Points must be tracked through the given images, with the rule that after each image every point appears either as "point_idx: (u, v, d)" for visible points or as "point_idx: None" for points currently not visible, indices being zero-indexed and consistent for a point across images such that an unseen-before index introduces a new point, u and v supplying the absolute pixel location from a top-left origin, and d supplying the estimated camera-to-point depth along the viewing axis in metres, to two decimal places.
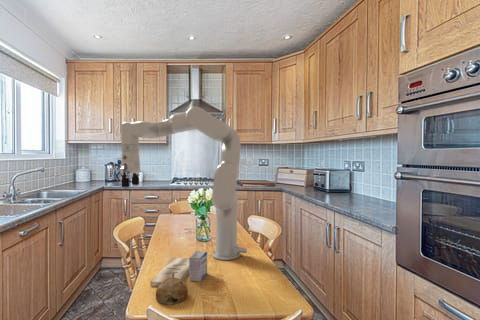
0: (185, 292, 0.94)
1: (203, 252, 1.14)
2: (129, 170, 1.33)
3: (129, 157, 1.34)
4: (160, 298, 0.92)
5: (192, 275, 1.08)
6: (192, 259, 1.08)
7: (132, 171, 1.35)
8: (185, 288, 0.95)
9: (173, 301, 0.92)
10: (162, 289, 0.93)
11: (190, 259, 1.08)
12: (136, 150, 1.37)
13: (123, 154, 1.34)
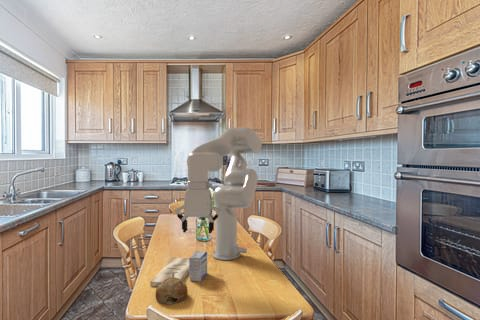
0: (185, 292, 0.95)
1: (203, 252, 1.14)
2: None
3: None
4: (160, 298, 0.92)
5: (192, 275, 1.08)
6: (192, 259, 1.08)
7: None
8: (185, 288, 0.95)
9: (173, 301, 0.92)
10: (162, 289, 0.93)
11: (190, 259, 1.08)
12: None
13: (209, 193, 1.09)
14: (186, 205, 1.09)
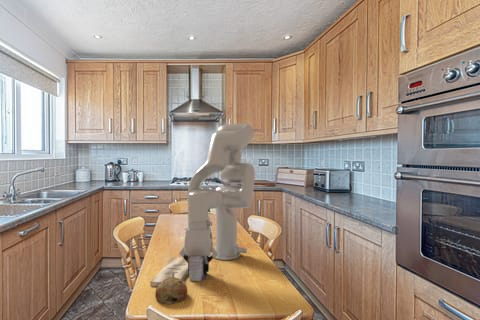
0: (185, 291, 0.95)
1: None
2: None
3: (211, 234, 1.13)
4: (160, 297, 0.92)
5: (192, 275, 1.08)
6: (192, 259, 1.08)
7: None
8: (185, 287, 0.96)
9: (173, 300, 0.92)
10: (162, 289, 0.93)
11: (190, 259, 1.08)
12: None
13: (209, 232, 1.10)
14: (186, 245, 1.10)
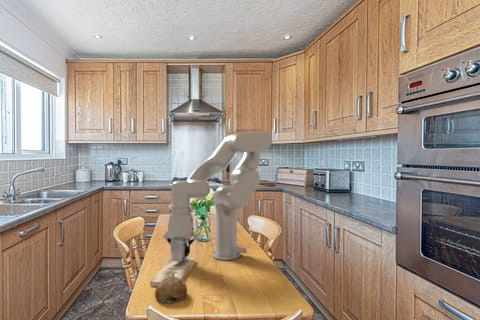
0: (184, 291, 0.95)
1: None
2: None
3: (192, 219, 1.25)
4: (159, 297, 0.93)
5: (174, 256, 1.20)
6: (174, 241, 1.20)
7: None
8: (184, 287, 0.96)
9: (172, 300, 0.93)
10: (161, 288, 0.93)
11: (172, 241, 1.20)
12: None
13: (190, 217, 1.22)
14: (170, 229, 1.21)
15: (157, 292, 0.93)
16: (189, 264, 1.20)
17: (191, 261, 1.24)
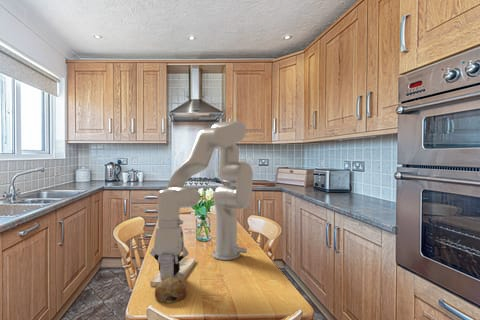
0: (184, 290, 0.95)
1: None
2: None
3: (182, 232, 1.10)
4: (159, 296, 0.93)
5: (163, 273, 1.06)
6: (163, 257, 1.05)
7: None
8: (184, 287, 0.96)
9: (172, 299, 0.93)
10: (161, 288, 0.94)
11: (161, 257, 1.06)
12: None
13: (179, 231, 1.07)
14: (156, 244, 1.07)
15: (157, 292, 0.94)
16: (189, 264, 1.20)
17: (191, 261, 1.24)
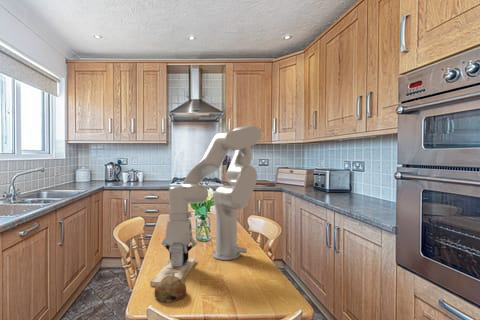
0: (183, 290, 0.96)
1: None
2: None
3: None
4: (159, 296, 0.93)
5: (174, 261, 1.17)
6: (174, 246, 1.17)
7: None
8: (183, 286, 0.97)
9: (172, 299, 0.93)
10: (161, 287, 0.94)
11: (172, 246, 1.17)
12: None
13: (188, 223, 1.19)
14: (168, 235, 1.18)
15: (156, 291, 0.94)
16: (189, 264, 1.20)
17: (191, 261, 1.24)
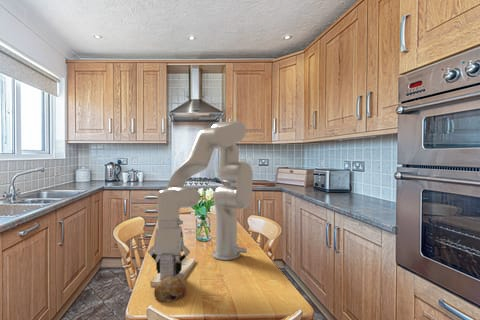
0: (183, 289, 0.96)
1: None
2: None
3: (182, 232, 1.10)
4: (159, 295, 0.94)
5: (163, 274, 1.05)
6: (163, 257, 1.05)
7: None
8: (183, 286, 0.97)
9: (171, 298, 0.94)
10: (160, 287, 0.94)
11: (161, 257, 1.05)
12: None
13: (179, 231, 1.07)
14: (156, 244, 1.07)
15: (156, 291, 0.94)
16: (189, 264, 1.20)
17: (191, 261, 1.24)
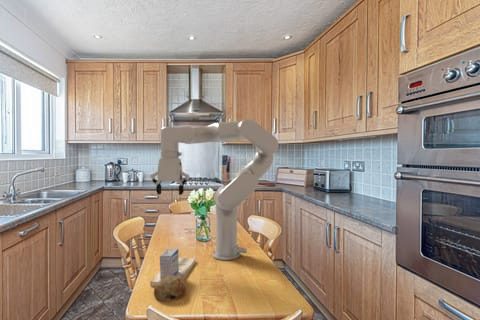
0: (183, 289, 0.96)
1: (174, 250, 1.11)
2: (182, 177, 1.32)
3: (181, 164, 1.32)
4: (158, 295, 0.94)
5: (163, 274, 1.05)
6: (163, 257, 1.05)
7: None
8: (183, 285, 0.97)
9: (171, 298, 0.94)
10: (160, 286, 0.95)
11: (161, 257, 1.05)
12: None
13: (179, 161, 1.29)
14: (159, 171, 1.29)
15: (156, 290, 0.95)
16: (189, 264, 1.20)
17: (191, 261, 1.24)
